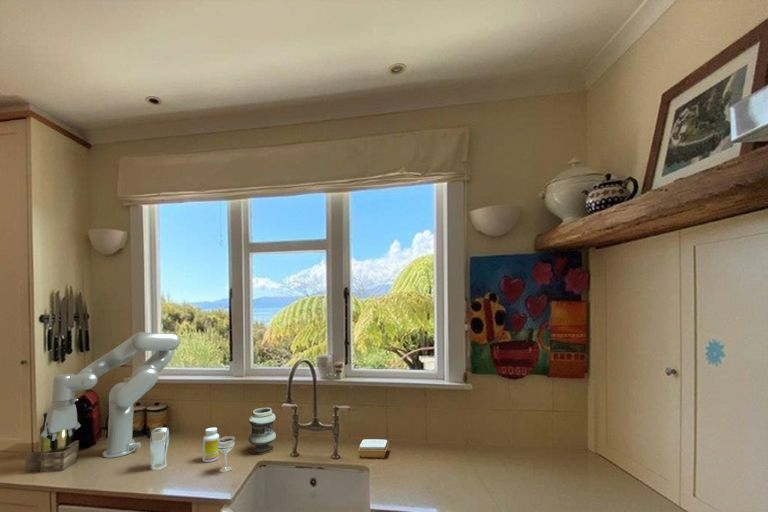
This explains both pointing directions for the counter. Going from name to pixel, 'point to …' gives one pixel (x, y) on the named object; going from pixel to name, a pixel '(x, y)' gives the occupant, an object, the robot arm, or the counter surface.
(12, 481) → the counter surface
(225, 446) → the wineglass
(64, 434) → the brass pin
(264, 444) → the apothecary jar
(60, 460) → the wooden crate
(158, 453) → the beer glass
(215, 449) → the supplement bottle
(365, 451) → the soap dish
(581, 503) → the counter surface
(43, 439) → the sauce bottle
